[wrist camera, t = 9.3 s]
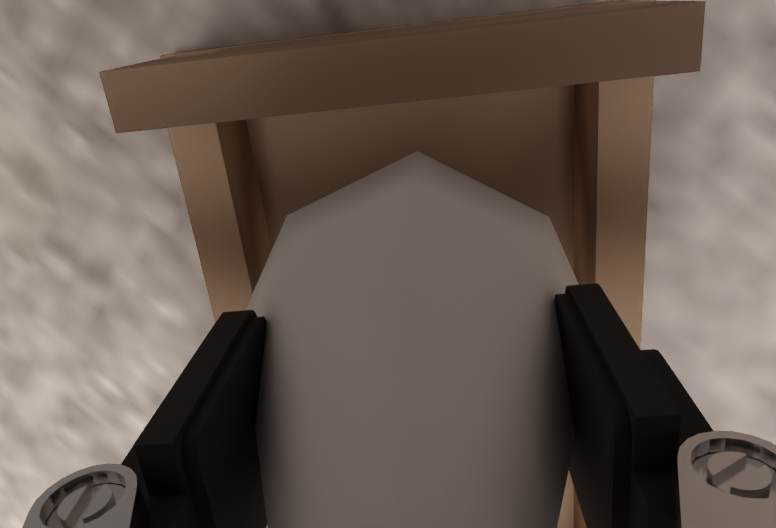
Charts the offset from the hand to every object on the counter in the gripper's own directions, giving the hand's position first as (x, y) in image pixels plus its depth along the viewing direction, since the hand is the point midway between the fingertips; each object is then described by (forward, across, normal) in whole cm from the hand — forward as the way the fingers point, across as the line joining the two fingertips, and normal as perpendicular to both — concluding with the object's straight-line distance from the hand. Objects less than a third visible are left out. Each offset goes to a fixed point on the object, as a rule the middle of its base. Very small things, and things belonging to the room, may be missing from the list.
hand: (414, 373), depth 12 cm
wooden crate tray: (+9, 0, +5) cm, 10 cm away
